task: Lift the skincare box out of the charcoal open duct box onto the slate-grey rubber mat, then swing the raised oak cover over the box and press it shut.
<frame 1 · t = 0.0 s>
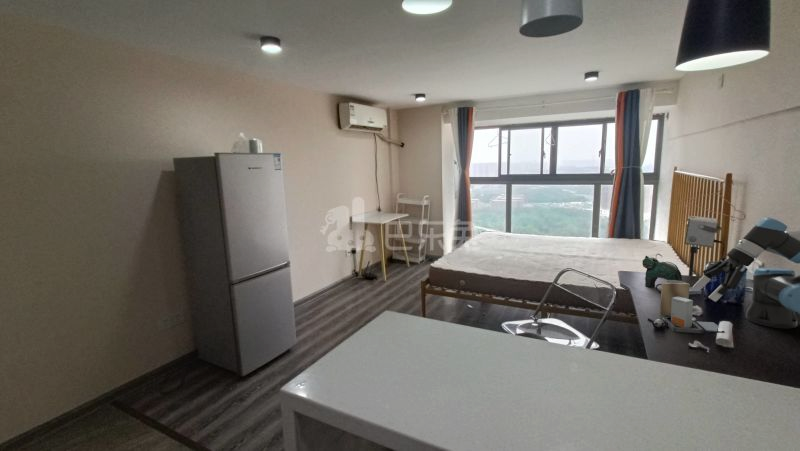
hand: (703, 294, 144), 15 cm above the table, tool tilted 35°, fingers open, 13 cm apart
coffee mug: (671, 301, 178), on the table
duct box: (680, 325, 151), on the table
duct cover: (674, 299, 157), point 9 cm above the table, hinge at 85.0°
skincare box: (681, 326, 151), resting in duct box
ceramic cat: (662, 290, 195), on the table
rubber mat: (709, 327, 147), on the table
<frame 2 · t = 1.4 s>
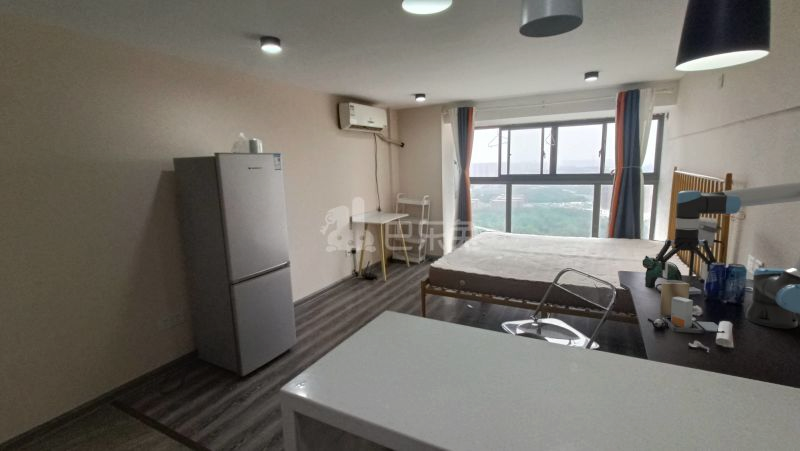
hand: (683, 278, 148), 21 cm above the table, tool pointing down, fingers open, 13 cm apart
nothing on the table moved.
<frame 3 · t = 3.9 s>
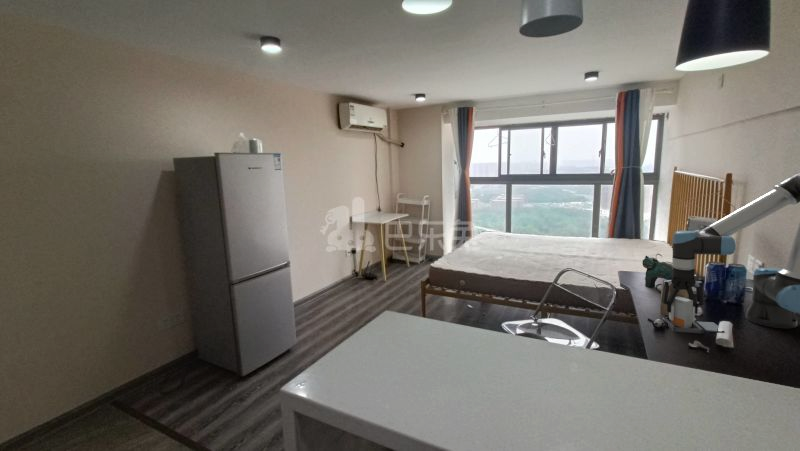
hand: (681, 319, 150), 3 cm above the table, tool pointing down, fingers closed on skincare box, 7 cm apart
skincare box: (681, 326, 151), resting in duct box, touching gripper
everything else where it was.
when the fingers open (4 cm above the table, at t = 9.9 s): skincare box stays where it is, resting on rubber mat.
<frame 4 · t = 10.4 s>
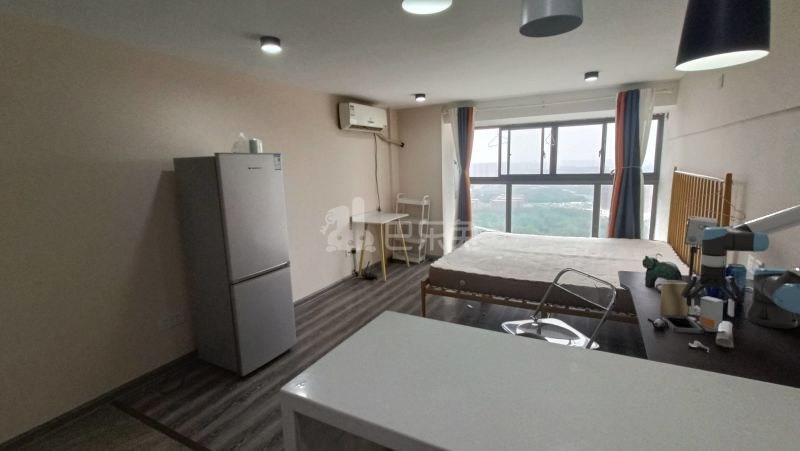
hand: (710, 314, 147), 6 cm above the table, tool pointing down, fingers open, 13 cm apart
skincare box: (710, 326, 147), resting on rubber mat
everything else where it was.
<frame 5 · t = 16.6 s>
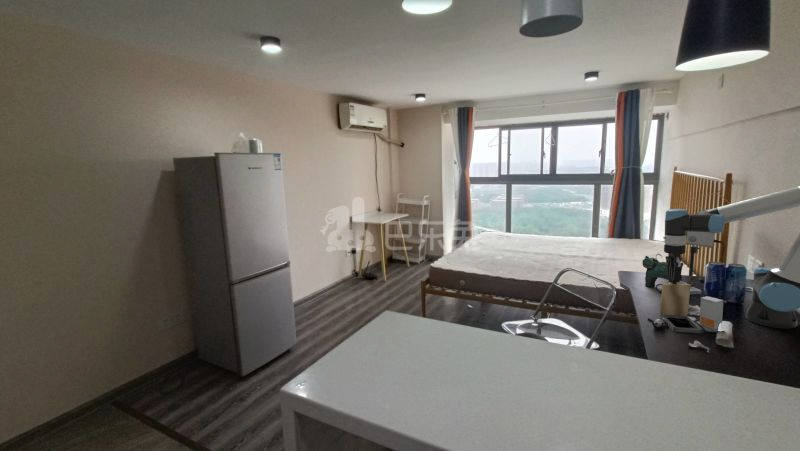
hand: (672, 295, 158), 10 cm above the table, tool pointing down, fingers closed
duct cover: (674, 299, 156), point 9 cm above the table, hinge at 81.1°, touching gripper
everything else where it was.
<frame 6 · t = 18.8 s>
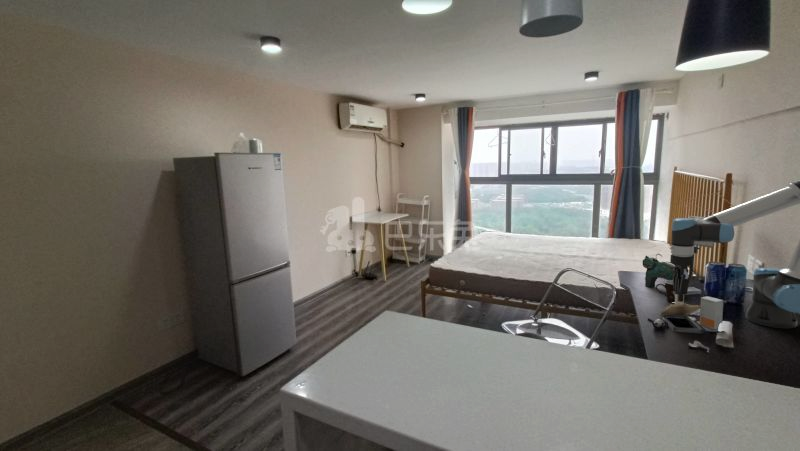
hand: (679, 307, 152), 7 cm above the table, tool pointing down, fingers closed
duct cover: (679, 310, 152), point 6 cm above the table, hinge at 34.2°, touching gripper
everything else where it was.
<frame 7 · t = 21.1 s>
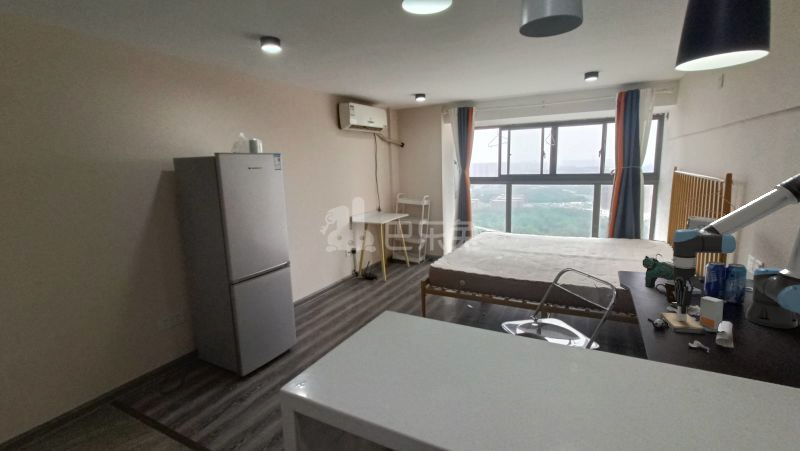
hand: (681, 320, 150), 3 cm above the table, tool pointing down, fingers closed
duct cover: (680, 320, 151), point 2 cm above the table, hinge at 0.1°, touching gripper
everything else where it was.
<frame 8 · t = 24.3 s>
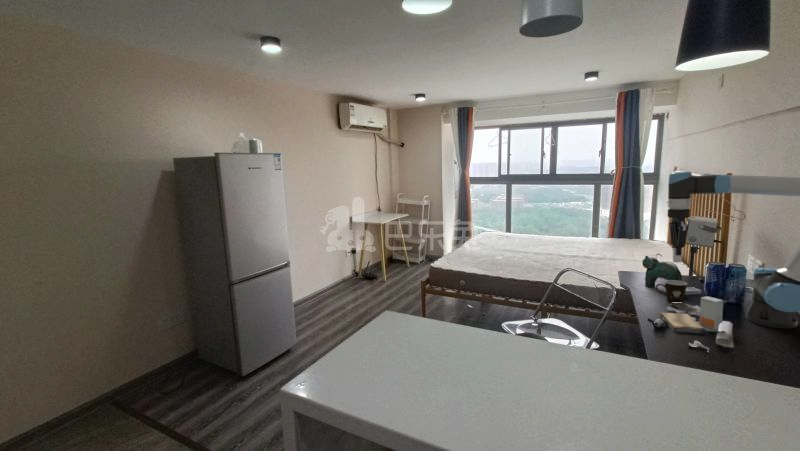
hand: (677, 261, 153), 26 cm above the table, tool pointing down, fingers closed
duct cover: (680, 320, 151), point 2 cm above the table, hinge at 0.1°
everything else where it was.
at the end: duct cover at +0° (first picture: +85°); skincare box inside the target area (0.2 cm from its centre), resting on rubber mat; skincare box tilted 0° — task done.
